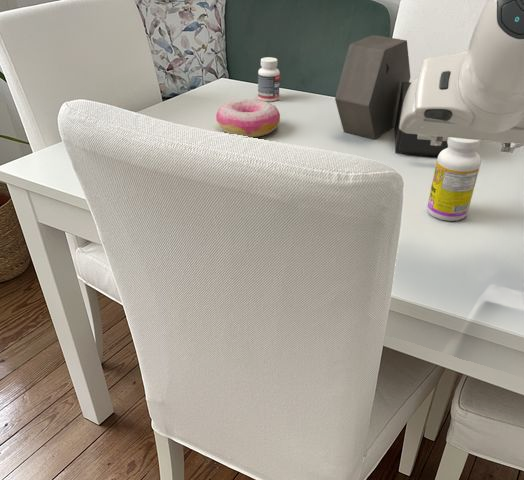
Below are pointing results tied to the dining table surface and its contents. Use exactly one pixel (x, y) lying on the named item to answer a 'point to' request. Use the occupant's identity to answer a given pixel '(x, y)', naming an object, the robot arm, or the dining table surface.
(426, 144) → the air fryer basket
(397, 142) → the box
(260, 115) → the donut
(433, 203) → the supplement bottle
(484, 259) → the dining table surface
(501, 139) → the robot arm
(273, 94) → the pill bottle
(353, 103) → the dark brown block
